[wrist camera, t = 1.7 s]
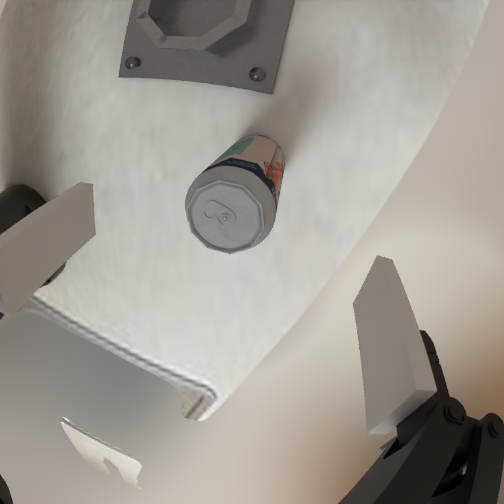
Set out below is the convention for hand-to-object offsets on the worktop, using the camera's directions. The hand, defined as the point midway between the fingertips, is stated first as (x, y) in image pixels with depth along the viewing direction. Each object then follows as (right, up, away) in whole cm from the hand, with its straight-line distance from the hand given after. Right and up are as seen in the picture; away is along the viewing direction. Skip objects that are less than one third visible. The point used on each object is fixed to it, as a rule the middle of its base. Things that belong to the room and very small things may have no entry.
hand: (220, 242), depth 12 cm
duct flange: (-3, +20, +5) cm, 21 cm away
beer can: (+2, +7, +12) cm, 14 cm away
